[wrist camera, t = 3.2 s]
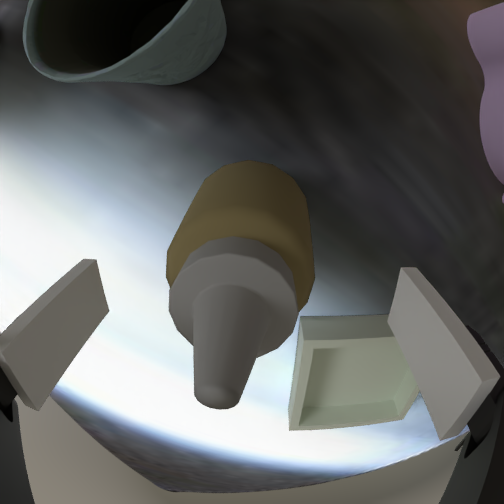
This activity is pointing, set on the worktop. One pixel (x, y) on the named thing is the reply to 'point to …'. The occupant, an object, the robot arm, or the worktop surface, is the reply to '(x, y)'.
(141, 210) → the worktop surface
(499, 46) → the clip
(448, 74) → the worktop surface
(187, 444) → the worktop surface
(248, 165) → the squeeze bottle
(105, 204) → the worktop surface
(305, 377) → the tray
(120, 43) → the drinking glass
